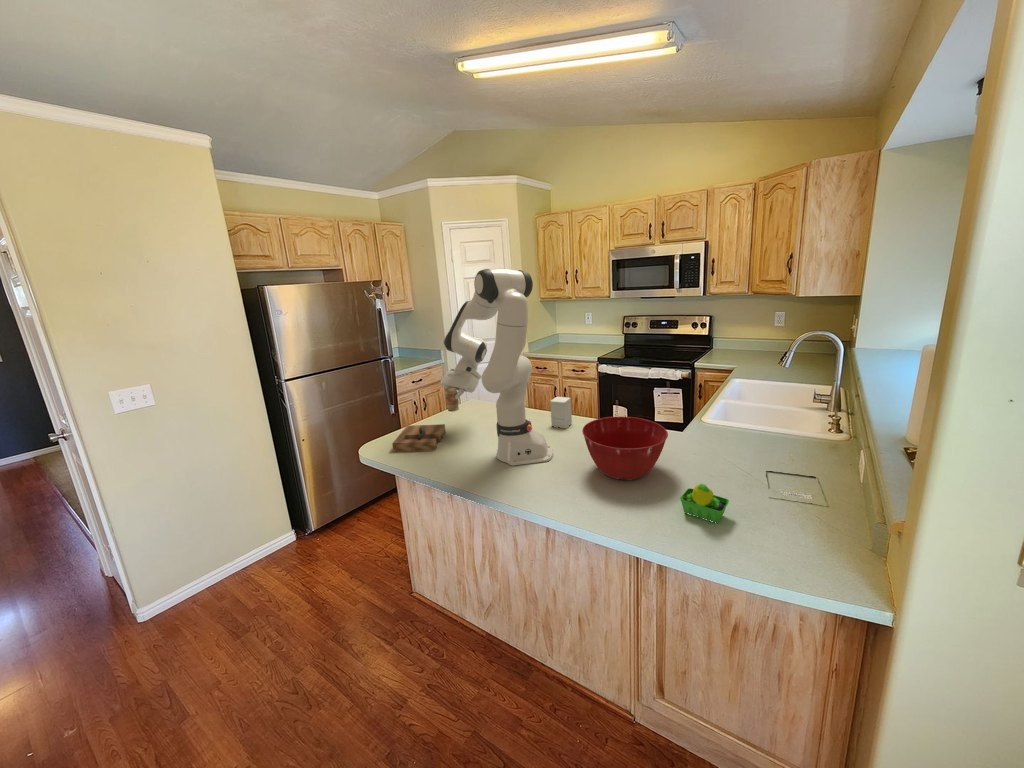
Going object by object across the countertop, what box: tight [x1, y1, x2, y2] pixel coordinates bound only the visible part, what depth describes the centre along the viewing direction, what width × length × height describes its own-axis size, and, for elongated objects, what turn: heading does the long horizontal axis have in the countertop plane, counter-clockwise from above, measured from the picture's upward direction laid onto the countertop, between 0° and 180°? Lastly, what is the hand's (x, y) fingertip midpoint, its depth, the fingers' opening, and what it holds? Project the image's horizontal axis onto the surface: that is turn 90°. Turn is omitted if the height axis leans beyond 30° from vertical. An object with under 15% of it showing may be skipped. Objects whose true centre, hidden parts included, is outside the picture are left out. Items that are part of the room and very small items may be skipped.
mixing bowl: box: [581, 416, 669, 480], centre depth 146 cm, size 28×28×15 cm
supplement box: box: [549, 396, 573, 429], centre depth 193 cm, size 7×7×13 cm
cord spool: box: [444, 387, 460, 413], centre depth 186 cm, size 5×5×10 cm
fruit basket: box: [679, 483, 730, 524], centre depth 119 cm, size 11×9×11 cm
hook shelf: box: [391, 423, 446, 453], centre depth 186 cm, size 18×20×8 cm
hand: (450, 397), depth 185 cm, fingers closed on cord spool, 5 cm apart
